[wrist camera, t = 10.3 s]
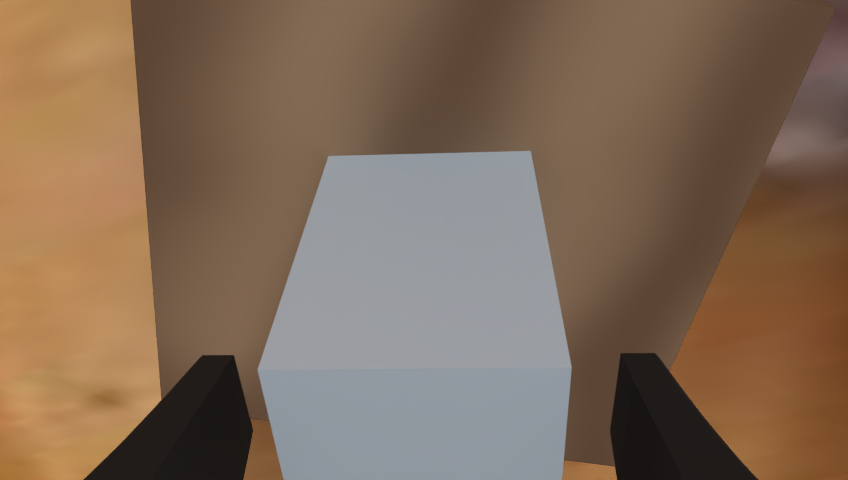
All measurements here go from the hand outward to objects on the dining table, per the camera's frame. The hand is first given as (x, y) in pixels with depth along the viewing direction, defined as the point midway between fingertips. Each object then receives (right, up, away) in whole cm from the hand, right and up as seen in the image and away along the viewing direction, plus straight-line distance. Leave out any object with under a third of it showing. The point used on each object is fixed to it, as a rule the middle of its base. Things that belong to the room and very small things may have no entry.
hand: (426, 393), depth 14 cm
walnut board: (0, +4, +6) cm, 7 cm away
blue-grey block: (0, +3, +4) cm, 5 cm away
